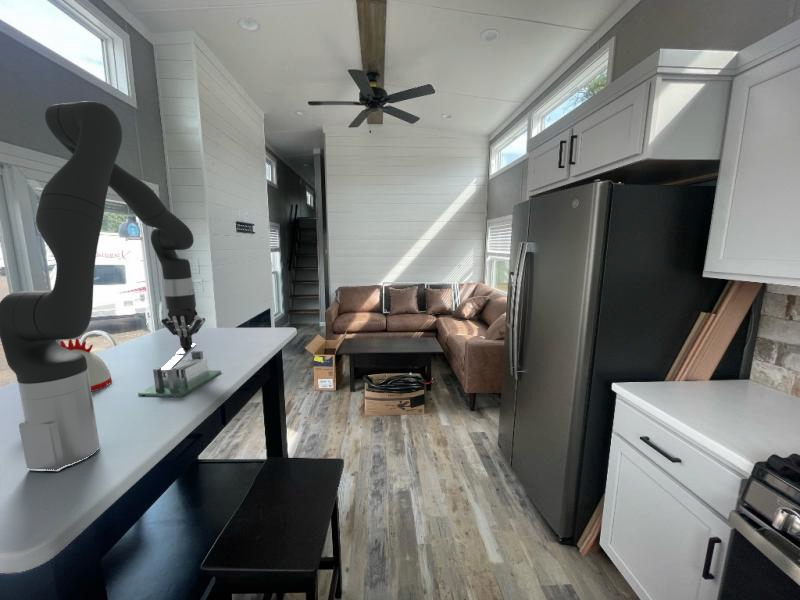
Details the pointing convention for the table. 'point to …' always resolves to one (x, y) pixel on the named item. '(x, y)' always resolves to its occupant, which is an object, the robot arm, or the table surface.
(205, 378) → the heatsink
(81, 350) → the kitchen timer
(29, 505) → the table surface
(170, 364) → the silver flat bar
